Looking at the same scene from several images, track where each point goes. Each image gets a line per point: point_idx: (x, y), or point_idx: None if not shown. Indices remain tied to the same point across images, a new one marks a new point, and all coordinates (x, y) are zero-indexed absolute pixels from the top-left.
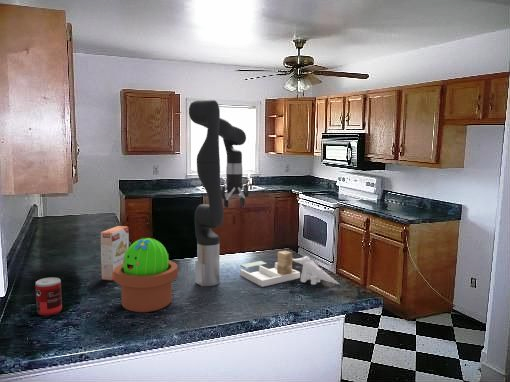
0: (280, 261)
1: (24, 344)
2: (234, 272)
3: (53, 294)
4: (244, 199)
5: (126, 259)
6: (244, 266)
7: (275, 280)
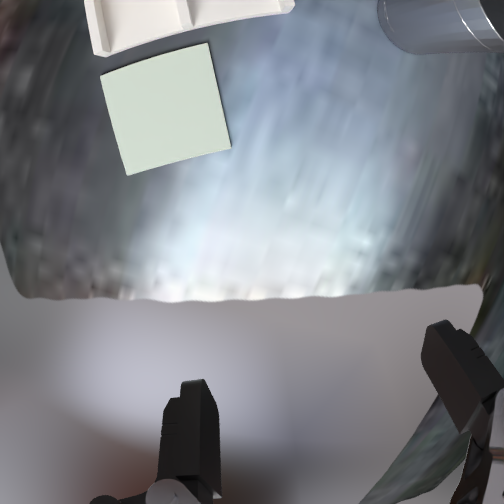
0: None
1: None
2: (289, 71)
3: None
4: (160, 468)
5: None
6: (223, 118)
7: None
